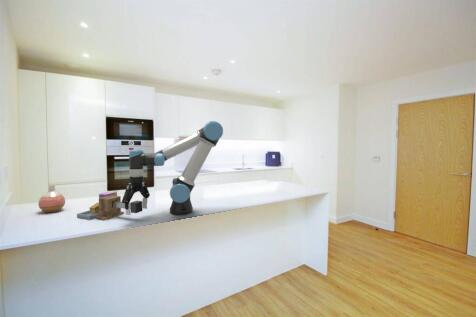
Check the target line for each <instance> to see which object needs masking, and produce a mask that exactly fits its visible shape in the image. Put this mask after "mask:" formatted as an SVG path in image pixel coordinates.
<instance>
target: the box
mask: <svg viewBox="0 0 476 317" xmlns="http://www.w3.org/2000/svg"><path fill="white" fill-rule="evenodd" d="M111 195H115V196H118V191H114V190H110V191H109V190H108V191H106V192H102V193H98V199H99V198H103V197H107V196H111Z"/></svg>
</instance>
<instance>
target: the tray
mask: <svg viewBox="0 0 476 317" xmlns="http://www.w3.org/2000/svg"><path fill="white" fill-rule="evenodd" d="M97 216H99V213H97V214H94V215H92V214H91V211H90V209H88V210H86V211H83V212H79V213H76V218H77V219H81V220H88V221H89V220H90V221H92V220H96V217H97Z"/></svg>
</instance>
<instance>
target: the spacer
mask: <svg viewBox="0 0 476 317" xmlns="http://www.w3.org/2000/svg"><path fill="white" fill-rule="evenodd" d="M88 208H89V209H88V210H90V211H91V214H92V215H94V214H97V213H99V202H96V203H95V204H93V205H91V206H90V207H88Z"/></svg>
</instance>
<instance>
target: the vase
mask: <svg viewBox="0 0 476 317" xmlns="http://www.w3.org/2000/svg"><path fill="white" fill-rule="evenodd" d="M55 186H56V185H55V184H48V191H47V192H46V193H44V194H43V195H41V197H40V198H39V201H38V208H39V209H40V210H41V211H43V212H45V213H50V214H51V213H55V212H59V211H60V210H61V209H63V208H64V206H65V205H66V199H65V198H66V197H65V196H64V195H63V194H61V193H60V192H57V191H56V187H55Z"/></svg>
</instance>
